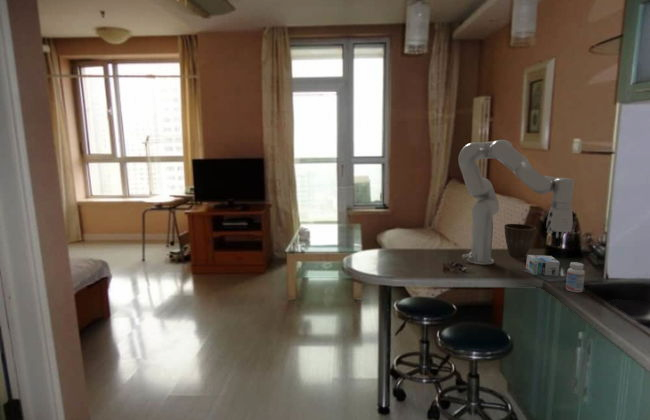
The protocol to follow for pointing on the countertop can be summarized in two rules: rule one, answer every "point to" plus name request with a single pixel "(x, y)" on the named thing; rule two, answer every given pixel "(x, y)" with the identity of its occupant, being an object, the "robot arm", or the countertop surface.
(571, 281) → the pill bottle
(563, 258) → the countertop surface
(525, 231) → the plant pot
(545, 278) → the mat
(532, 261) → the light bulb box
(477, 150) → the robot arm
